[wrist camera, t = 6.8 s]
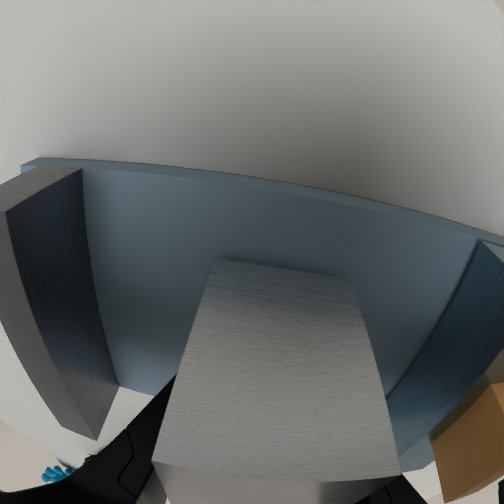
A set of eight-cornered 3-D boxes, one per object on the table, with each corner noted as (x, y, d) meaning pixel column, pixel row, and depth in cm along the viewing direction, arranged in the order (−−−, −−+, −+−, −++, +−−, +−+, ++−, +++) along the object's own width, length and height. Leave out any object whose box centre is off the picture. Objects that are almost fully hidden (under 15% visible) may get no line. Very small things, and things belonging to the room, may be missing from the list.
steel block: (349, 279, 9) (401, 474, 3) (295, 406, 12) (294, 531, 7) (215, 257, 9) (150, 460, 3) (205, 394, 12) (178, 519, 7)
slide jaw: (526, 255, 8) (615, 363, 2) (411, 422, 13) (431, 515, 8) (481, 241, 8) (590, 376, 2) (366, 424, 13) (379, 528, 8)
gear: (40, 461, 30) (41, 500, 22) (51, 440, 32) (51, 478, 24) (97, 485, 35) (108, 523, 26) (109, 466, 37) (122, 503, 28)
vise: (509, 239, 9) (572, 303, 5) (406, 404, 14) (422, 468, 10) (37, 158, 9) (-51, 202, 5) (79, 357, 14) (45, 418, 10)
